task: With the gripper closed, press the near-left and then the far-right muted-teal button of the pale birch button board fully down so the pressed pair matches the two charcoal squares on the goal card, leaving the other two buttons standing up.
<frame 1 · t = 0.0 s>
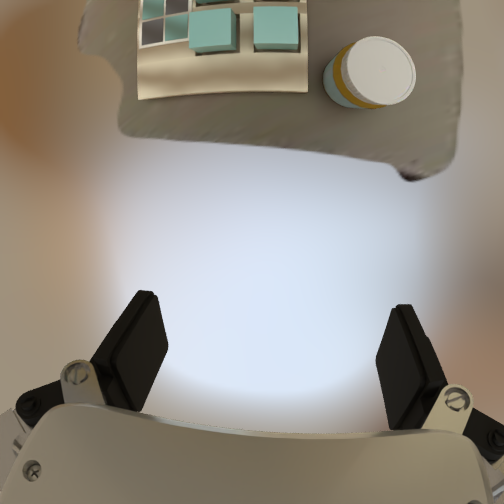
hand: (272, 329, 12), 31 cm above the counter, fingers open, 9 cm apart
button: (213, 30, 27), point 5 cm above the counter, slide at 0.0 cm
bottle: (348, 82, 33), on the counter
button board: (223, 17, 30), on the counter
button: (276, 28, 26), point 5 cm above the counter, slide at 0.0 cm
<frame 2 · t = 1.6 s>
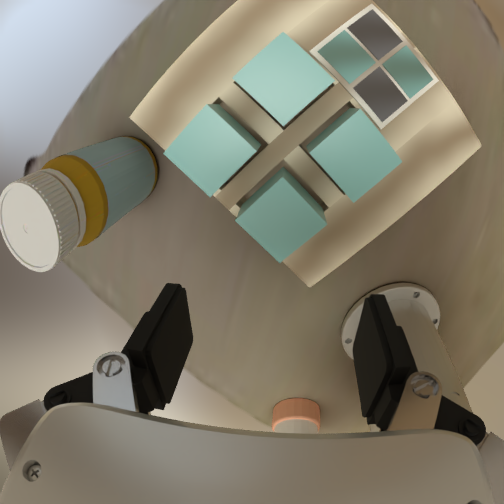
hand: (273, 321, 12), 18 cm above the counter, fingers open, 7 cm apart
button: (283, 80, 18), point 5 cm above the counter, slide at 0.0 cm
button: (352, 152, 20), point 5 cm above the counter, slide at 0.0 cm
salt shaker: (296, 409, 43), on the counter
bottle: (129, 168, 28), on the counter
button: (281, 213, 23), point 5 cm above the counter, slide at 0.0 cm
button board: (313, 113, 24), on the counter
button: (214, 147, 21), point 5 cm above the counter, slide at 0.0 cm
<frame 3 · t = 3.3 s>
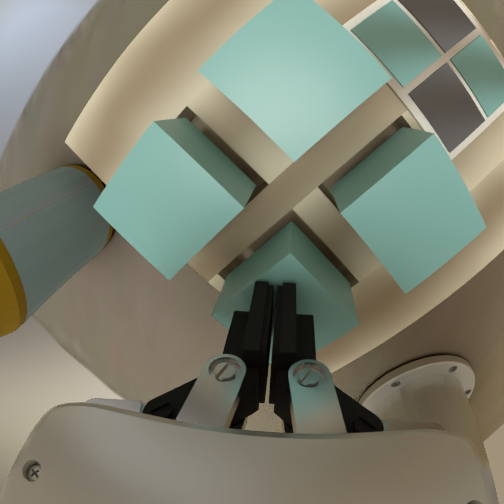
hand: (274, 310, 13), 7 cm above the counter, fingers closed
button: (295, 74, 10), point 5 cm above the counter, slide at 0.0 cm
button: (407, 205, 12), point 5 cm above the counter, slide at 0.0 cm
bottle: (82, 207, 20), on the counter
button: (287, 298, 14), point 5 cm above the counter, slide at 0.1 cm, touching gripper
button board: (338, 131, 16), on the counter
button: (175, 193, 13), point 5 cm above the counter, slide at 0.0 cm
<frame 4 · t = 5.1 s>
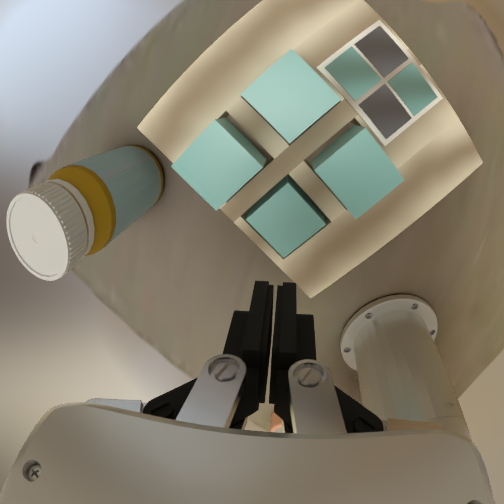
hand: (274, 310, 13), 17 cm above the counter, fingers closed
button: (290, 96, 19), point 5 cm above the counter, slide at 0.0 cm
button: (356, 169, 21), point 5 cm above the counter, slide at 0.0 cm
bottle: (136, 177, 29), on the counter
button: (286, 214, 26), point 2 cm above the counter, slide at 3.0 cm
button board: (318, 128, 25), on the counter
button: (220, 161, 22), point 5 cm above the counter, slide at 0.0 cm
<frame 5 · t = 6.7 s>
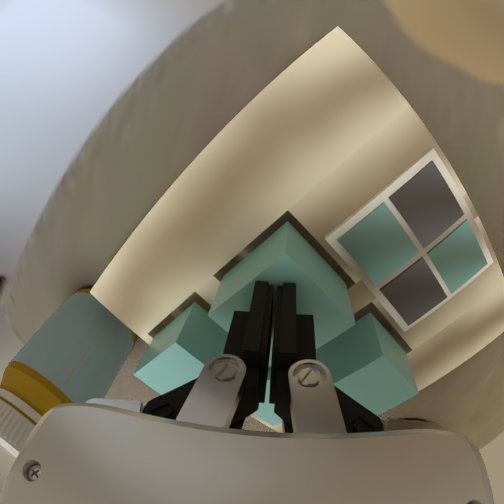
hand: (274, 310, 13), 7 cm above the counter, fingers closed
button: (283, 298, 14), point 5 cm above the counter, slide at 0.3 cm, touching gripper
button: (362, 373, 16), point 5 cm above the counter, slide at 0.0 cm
bottle: (105, 317, 24), on the counter
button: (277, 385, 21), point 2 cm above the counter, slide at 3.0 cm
button board: (321, 286, 20), on the counter
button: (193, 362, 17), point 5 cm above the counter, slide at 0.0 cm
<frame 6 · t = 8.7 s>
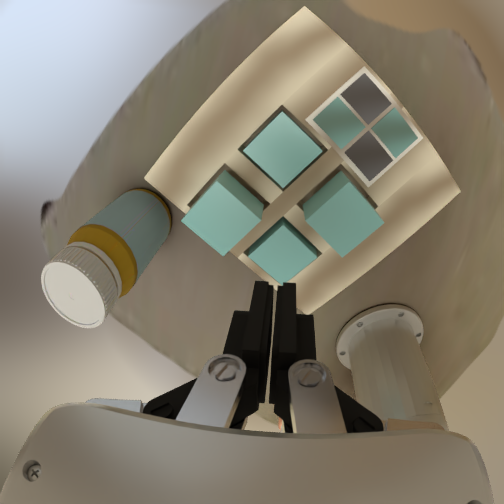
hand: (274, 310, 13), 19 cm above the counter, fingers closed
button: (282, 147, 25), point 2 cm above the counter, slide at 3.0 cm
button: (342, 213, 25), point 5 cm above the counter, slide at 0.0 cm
bottle: (144, 215, 33), on the counter
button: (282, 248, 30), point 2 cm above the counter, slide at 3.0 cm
button board: (308, 168, 28), on the counter
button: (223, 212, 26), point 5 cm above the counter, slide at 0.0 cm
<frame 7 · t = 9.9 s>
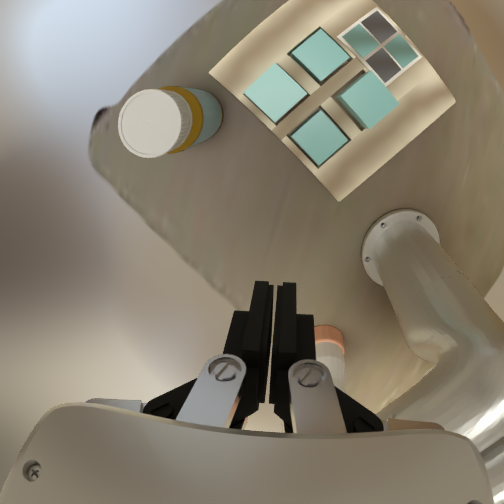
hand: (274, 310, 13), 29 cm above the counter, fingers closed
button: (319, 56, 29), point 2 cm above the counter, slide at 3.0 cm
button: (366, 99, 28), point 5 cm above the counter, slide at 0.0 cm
salt shaker: (322, 339, 51), on the counter
bottle: (197, 115, 36), on the counter
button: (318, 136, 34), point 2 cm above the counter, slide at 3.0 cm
button board: (337, 79, 32), on the counter
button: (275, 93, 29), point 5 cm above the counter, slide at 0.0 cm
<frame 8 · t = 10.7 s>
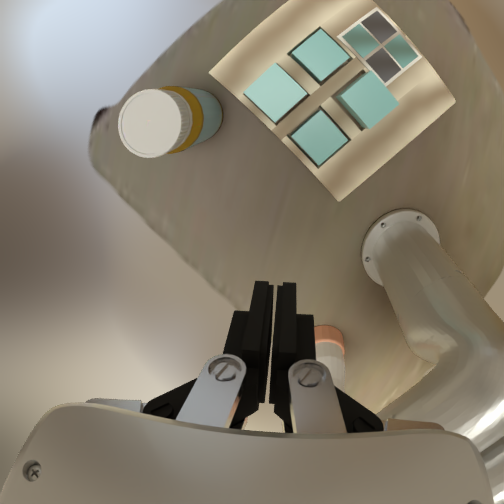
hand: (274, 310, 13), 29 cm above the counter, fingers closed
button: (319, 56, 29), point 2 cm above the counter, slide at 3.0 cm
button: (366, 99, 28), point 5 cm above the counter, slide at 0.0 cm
salt shaker: (322, 339, 51), on the counter
bottle: (197, 115, 36), on the counter
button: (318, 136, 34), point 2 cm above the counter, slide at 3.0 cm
button board: (337, 79, 32), on the counter
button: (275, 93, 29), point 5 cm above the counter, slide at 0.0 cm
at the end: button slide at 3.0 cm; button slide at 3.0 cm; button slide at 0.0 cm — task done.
